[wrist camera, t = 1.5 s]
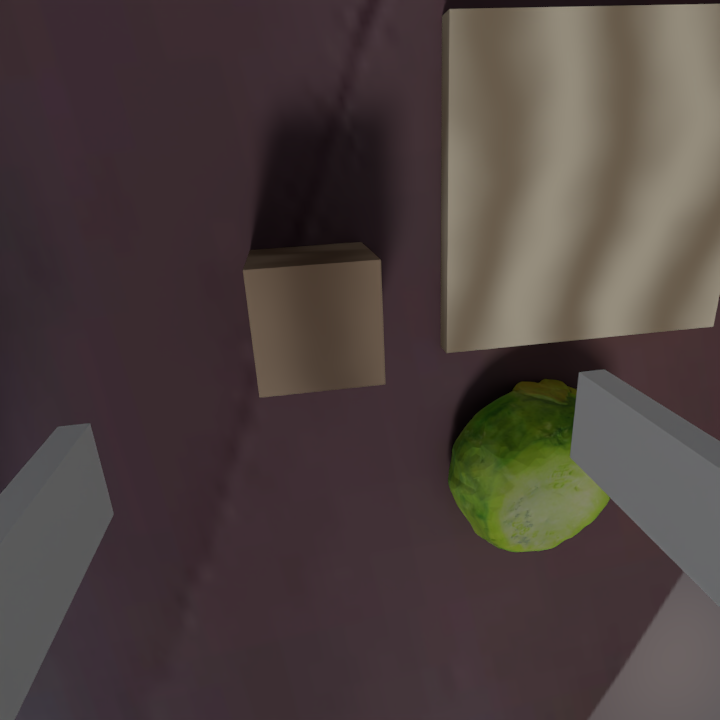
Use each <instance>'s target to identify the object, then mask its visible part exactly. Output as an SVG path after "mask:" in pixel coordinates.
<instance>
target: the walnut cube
mask: <svg viewBox="0 0 720 720" xmlns="http://www.w3.org/2000/svg"><path fill="white" fill-rule="evenodd" d="M243 275H244V282H245V290H246V297H247V305H248V313H249V320H250V328H251V336H252V343H253V351H254V359H255V366H256V374H257V382H258V389H259V397H260V398H261V397H270V396H279V395H289V394H298V393H308V392H317V391H327V390H336V389H346V388H355V387H365V386H374V385H384V384H385V361H384V333H383V306H382V279H381V259H380V258H378V257H377V256H376V255H375V254H374V253H373V252H372V251H371V250H370V249H368V248H367V247H366V246H365V245H364V244H363V243H362V242H354V243H340V244H326V245H312V246H298V247H284V248H270V249H257V250H250V252H249V254H248V257H247V260H246V263H245V266H244V269H243Z"/></svg>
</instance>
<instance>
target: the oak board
mask: <svg viewBox="0 0 720 720" xmlns="http://www.w3.org/2000/svg"><path fill="white" fill-rule="evenodd" d="M719 295H720V4H680V5H629V6H577V7H526V8H474V9H449V10H448V11H447V12H446V13H445V14H444V15H443V16H442V158H441V347H442V348H443V350H444V351H445V352H446V353H452V352H463V351H473V350H483V349H493V348H503V347H513V346H523V345H533V344H543V343H553V342H563V341H573V340H583V339H593V338H603V337H613V336H623V335H633V334H643V333H653V332H663V331H673V330H683V329H693V328H703V327H713V325H714V320H715V315H716V310H717V305H718V300H719Z"/></svg>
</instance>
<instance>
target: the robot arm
mask: <svg viewBox="0 0 720 720" xmlns="http://www.w3.org/2000/svg"><path fill="white" fill-rule="evenodd" d="M570 458H571V459H572V460H573V461H574V462H575V463H576V464H577V465H578V466H579V467H580V468H581V469H582V470H583V471H584V472H585V473H586V474H587V475H588V476H589V477H590V478H591V479H592V480H593V481H594V482H595V483H596V484H597V485H598V486H599V487H600V488H601V489H602V490H603V491H604V492H605V493H606V494H607V495H608V496H609V497H610V498H611V499H612V500H613V501H614V502H615V503H616V504H617V505H618V506H619V507H620V508H621V509H622V510H623V511H624V512H625V513H626V514H627V515H628V516H629V517H630V518H631V519H632V520H633V521H634V522H635V523H636V524H637V525H638V526H639V527H640V528H641V529H642V530H643V531H644V532H645V533H646V534H647V535H648V536H649V537H650V538H651V539H652V540H653V541H654V542H655V543H656V544H657V545H658V546H659V547H660V548H661V549H662V550H663V551H664V552H665V553H666V554H667V555H668V556H669V557H670V558H671V559H672V560H673V561H674V562H675V563H676V564H677V565H678V566H679V567H680V568H681V569H682V570H683V571H684V572H685V573H686V574H687V575H688V576H689V577H690V578H691V579H692V580H693V581H694V582H695V583H696V584H697V585H698V586H699V587H700V588H701V589H702V590H703V591H704V592H705V593H706V594H707V595H708V596H709V597H710V598H711V599H712V600H713V601H714V602H715V603H716V604H717V605H718V606H719V607H720V441H718V440H717V439H715V438H713V437H712V436H710V435H709V434H707V433H705V432H704V431H702V430H701V429H699V428H697V427H696V426H694V425H693V424H691V423H689V422H688V421H686V420H685V419H683V418H681V417H680V416H678V415H677V414H675V413H673V412H672V411H670V410H669V409H667V408H665V407H664V406H662V405H661V404H659V403H657V402H656V401H654V400H653V399H651V398H649V397H648V396H646V395H645V394H643V393H641V392H640V391H638V390H637V389H635V388H633V387H632V386H630V385H629V384H627V383H625V382H624V381H622V380H621V379H619V378H617V377H616V376H614V375H613V374H611V373H609V372H608V371H606V370H605V369H604V370H594V371H585V372H579V376H578V386H577V395H576V404H575V414H574V423H573V432H572V442H571V451H570ZM113 514H114V513H113V509H112V506H111V502H110V498H109V494H108V490H107V486H106V483H105V479H104V475H103V471H102V467H101V463H100V460H99V456H98V452H97V448H96V444H95V441H94V437H93V433H92V429H91V425H90V423H89V424H79V425H70V426H60V427H57V428H56V430H55V431H54V432H53V433H52V434H51V435H50V437H49V438H48V439H47V440H46V441H45V442H44V444H43V445H42V446H41V447H40V448H39V449H38V451H37V452H36V453H35V454H34V455H33V456H32V458H31V459H30V460H29V461H28V462H27V463H26V465H25V466H24V467H23V468H22V469H21V470H20V472H19V473H18V474H17V475H16V476H15V477H14V479H13V480H12V481H11V482H10V483H9V484H8V486H7V487H6V488H5V489H4V490H3V491H2V493H1V494H0V720H15V718H16V716H17V714H18V712H19V710H20V707H21V705H22V703H23V701H24V699H25V697H26V695H27V693H28V691H29V689H30V687H31V685H32V683H33V680H34V678H35V676H36V674H37V672H38V670H39V668H40V666H41V664H42V662H43V660H44V658H45V656H46V653H47V651H48V649H49V647H50V645H51V643H52V641H53V639H54V637H55V635H56V633H57V631H58V629H59V626H60V624H61V622H62V620H63V618H64V616H65V614H66V612H67V610H68V608H69V606H70V604H71V602H72V599H73V597H74V595H75V593H76V591H77V589H78V587H79V585H80V583H81V581H82V579H83V577H84V575H85V573H86V570H87V568H88V566H89V564H90V562H91V560H92V558H93V556H94V554H95V552H96V550H97V548H98V546H99V543H100V541H101V539H102V537H103V535H104V533H105V531H106V529H107V527H108V525H109V523H110V521H111V519H112V516H113Z"/></svg>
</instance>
